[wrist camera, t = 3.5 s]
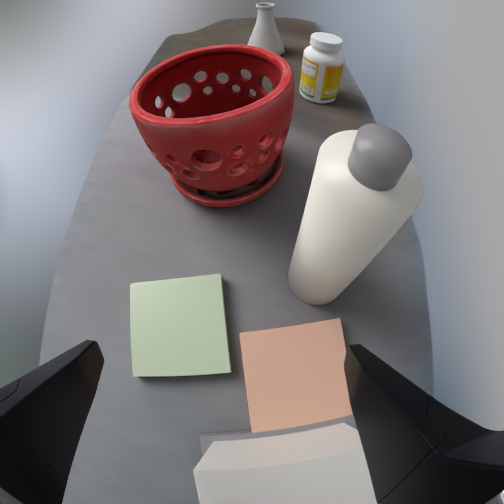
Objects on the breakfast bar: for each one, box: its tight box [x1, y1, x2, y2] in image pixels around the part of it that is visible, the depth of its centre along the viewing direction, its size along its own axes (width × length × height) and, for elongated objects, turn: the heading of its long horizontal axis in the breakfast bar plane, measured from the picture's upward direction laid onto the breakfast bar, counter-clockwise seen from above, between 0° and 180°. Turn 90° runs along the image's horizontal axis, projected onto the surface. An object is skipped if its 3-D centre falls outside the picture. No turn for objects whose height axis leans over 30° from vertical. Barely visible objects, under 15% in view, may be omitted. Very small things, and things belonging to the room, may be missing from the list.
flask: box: [248, 3, 285, 55], centre depth 36 cm, size 7×7×10 cm
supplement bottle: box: [299, 32, 344, 103], centre depth 30 cm, size 5×5×10 cm
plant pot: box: [129, 44, 294, 207], centre depth 23 cm, size 13×13×12 cm
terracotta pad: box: [239, 318, 353, 433], centre depth 20 cm, size 8×8×1 cm
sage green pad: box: [130, 274, 232, 376], centre depth 22 cm, size 8×8×1 cm
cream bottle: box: [288, 124, 423, 305], centre depth 17 cm, size 5×5×16 cm
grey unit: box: [193, 414, 377, 504], centre depth 13 cm, size 8×12×8 cm, turn 97°
